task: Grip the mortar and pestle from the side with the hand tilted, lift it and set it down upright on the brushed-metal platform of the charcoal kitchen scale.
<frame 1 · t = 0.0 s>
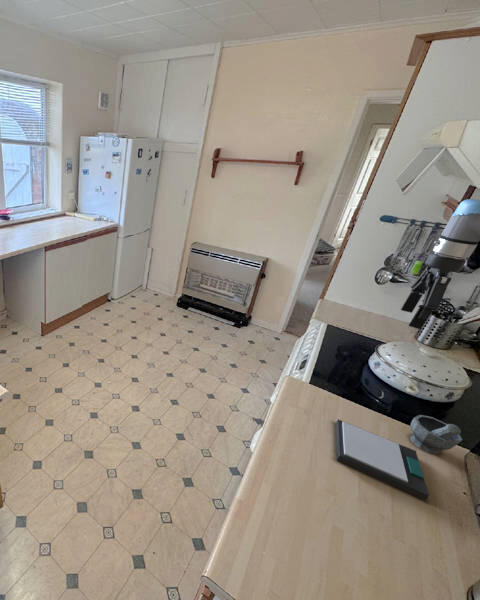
hand: (410, 318, 102), 29 cm above the counter, tool pointing down, fingers open, 13 cm apart
kitchen scale: (374, 457, 89), on the counter
mortar and pestle: (424, 446, 94), on the counter
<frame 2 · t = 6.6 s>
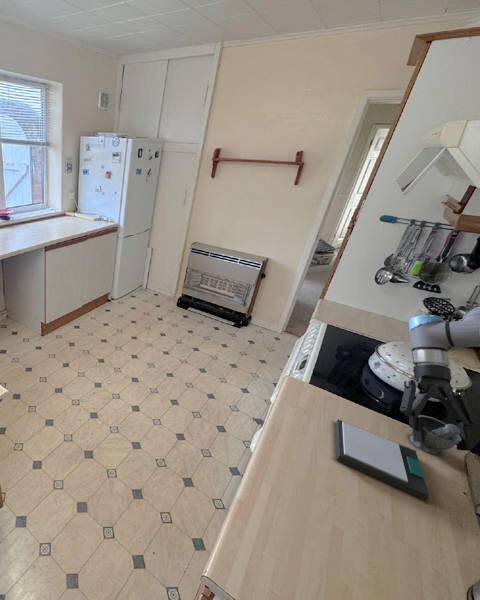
hand: (441, 445, 89), 4 cm above the counter, tool tilted 45°, fingers closed on mortar and pestle, 10 cm apart
mortar and pestle: (424, 446, 94), on the counter, touching gripper
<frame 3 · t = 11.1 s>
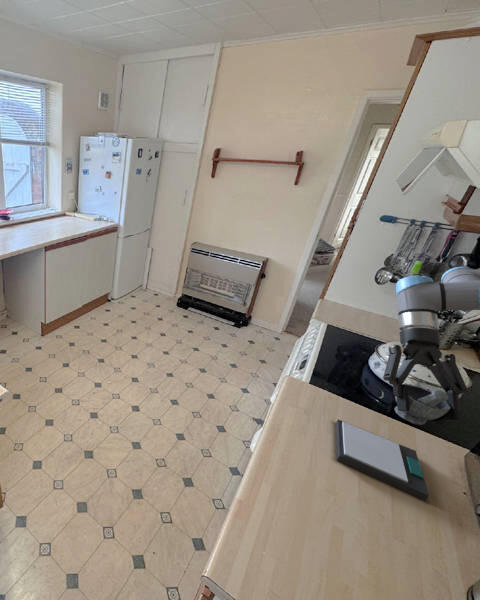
hand: (427, 415, 81), 17 cm above the counter, tool tilted 45°, fingers closed on mortar and pestle, 10 cm apart
mortar and pestle: (409, 417, 85), point 13 cm above the counter, touching gripper
when the fingers open (7 cm above the counter, at t = 15.4 s): mortar and pestle stays where it is, resting on kitchen scale.
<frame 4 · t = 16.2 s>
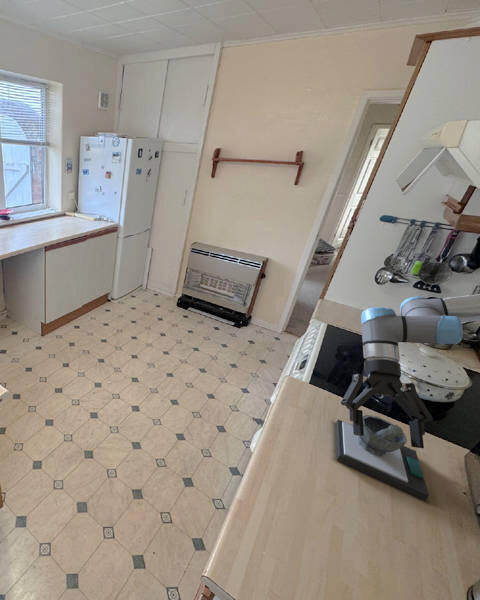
hand: (387, 441, 84), 8 cm above the counter, tool tilted 45°, fingers open, 13 cm apart
mortar and pestle: (371, 448, 89), point 2 cm above the counter, touching kitchen scale
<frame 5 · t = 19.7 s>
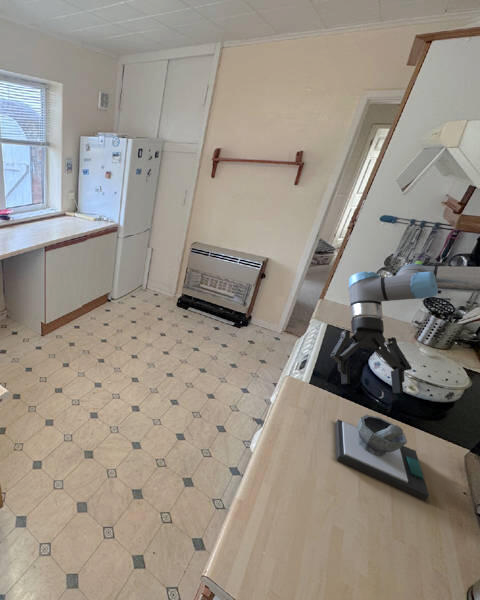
hand: (371, 388, 94), 14 cm above the counter, tool tilted 45°, fingers open, 13 cm apart
nothing on the counter moved.
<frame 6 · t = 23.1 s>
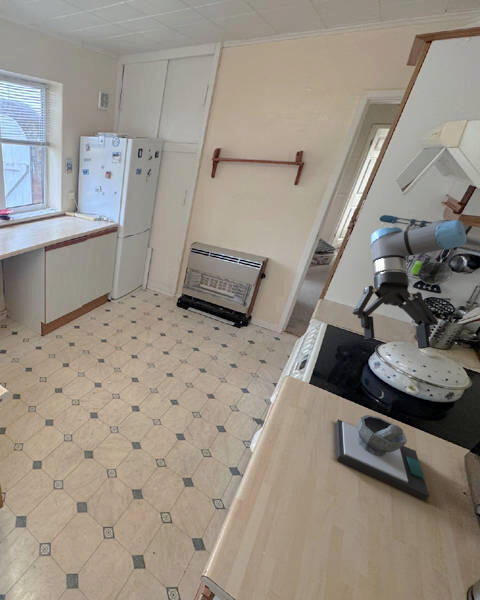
hand: (396, 343, 91), 28 cm above the counter, tool tilted 45°, fingers open, 13 cm apart
nothing on the counter moved.
at the end: mortar and pestle inside the target area on the kitchen scale (0.2 cm from its centre), point 2.4 cm above the kitchen scale's base; mortar and pestle tilted 0°; the gripper is holding nothing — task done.
